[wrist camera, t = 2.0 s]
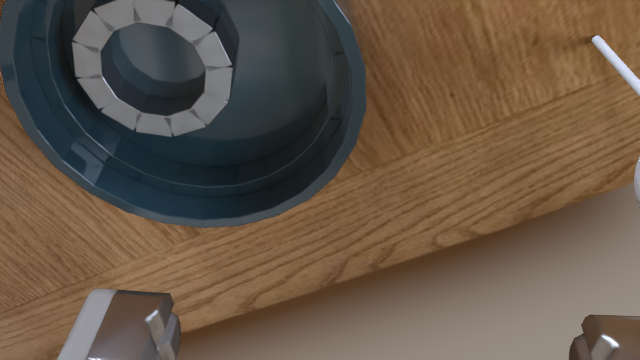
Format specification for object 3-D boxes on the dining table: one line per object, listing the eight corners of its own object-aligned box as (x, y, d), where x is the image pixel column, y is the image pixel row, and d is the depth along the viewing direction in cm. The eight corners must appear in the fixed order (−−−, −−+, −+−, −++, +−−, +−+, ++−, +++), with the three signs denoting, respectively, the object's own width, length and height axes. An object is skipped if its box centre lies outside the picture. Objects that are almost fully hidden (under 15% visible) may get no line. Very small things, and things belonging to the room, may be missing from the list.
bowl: (55, 158, 35) (28, 207, 31) (9, -155, 24) (-41, -133, 20) (326, 194, 37) (327, 243, 34) (397, -76, 26) (410, -45, 23)
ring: (89, 106, 32) (79, 124, 30) (77, -32, 27) (64, -18, 25) (228, 127, 33) (225, 145, 31) (242, -2, 28) (238, 12, 26)
